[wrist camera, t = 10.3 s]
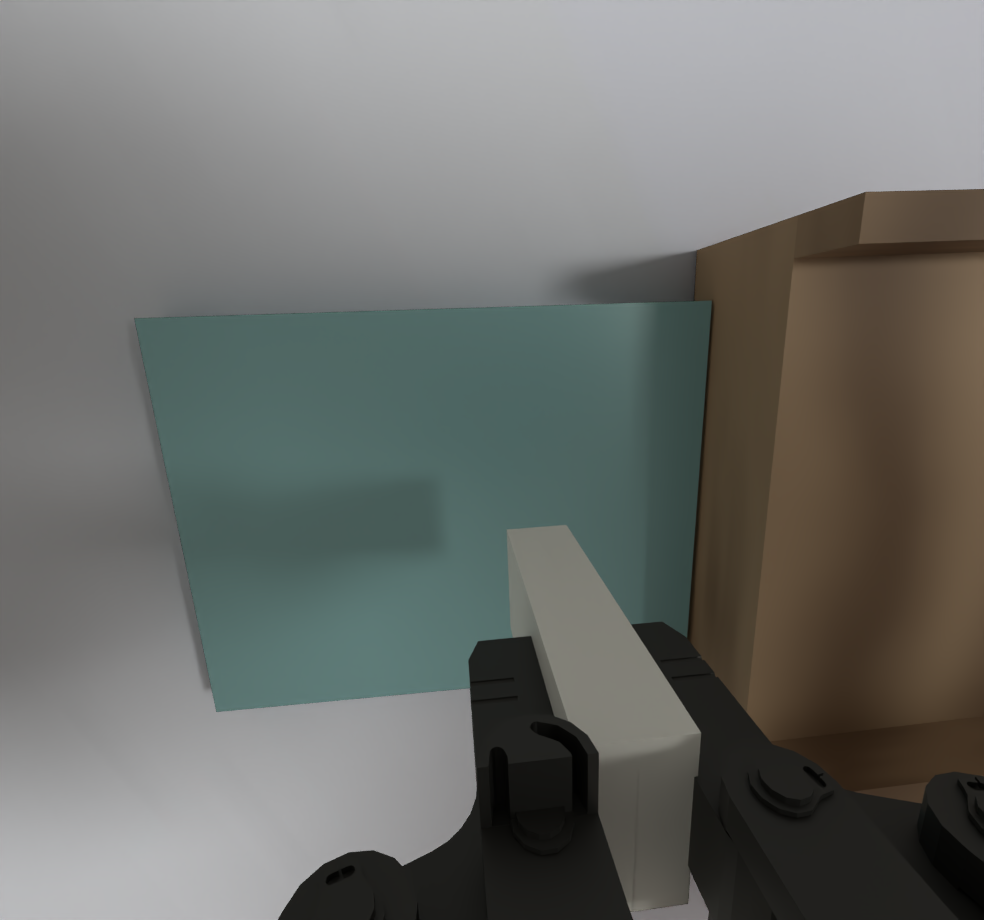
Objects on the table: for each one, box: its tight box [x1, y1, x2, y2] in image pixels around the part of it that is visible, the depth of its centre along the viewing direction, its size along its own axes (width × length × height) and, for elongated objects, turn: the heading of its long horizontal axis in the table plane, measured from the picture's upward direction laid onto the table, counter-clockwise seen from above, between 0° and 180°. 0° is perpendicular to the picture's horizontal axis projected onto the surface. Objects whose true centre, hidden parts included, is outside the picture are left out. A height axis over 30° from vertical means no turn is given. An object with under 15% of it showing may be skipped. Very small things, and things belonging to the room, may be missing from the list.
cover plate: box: [134, 301, 712, 712], centre depth 18 cm, size 18×14×2 cm
